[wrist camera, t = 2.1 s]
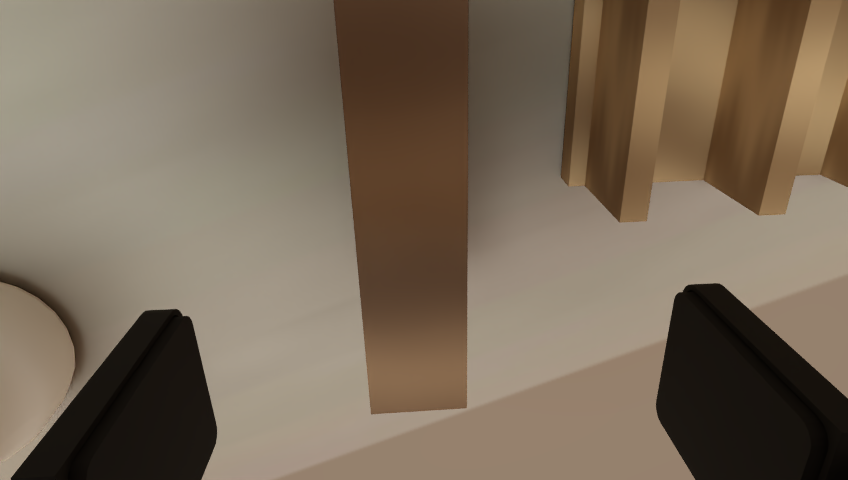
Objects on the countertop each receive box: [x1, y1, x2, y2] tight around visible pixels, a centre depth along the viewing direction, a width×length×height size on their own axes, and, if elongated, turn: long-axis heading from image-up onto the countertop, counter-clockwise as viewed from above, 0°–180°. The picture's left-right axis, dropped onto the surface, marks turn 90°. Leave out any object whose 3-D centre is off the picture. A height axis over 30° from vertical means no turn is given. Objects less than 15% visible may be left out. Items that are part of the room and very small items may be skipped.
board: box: [334, 0, 468, 414], centre depth 19 cm, size 12×3×10 cm, turn 2°
